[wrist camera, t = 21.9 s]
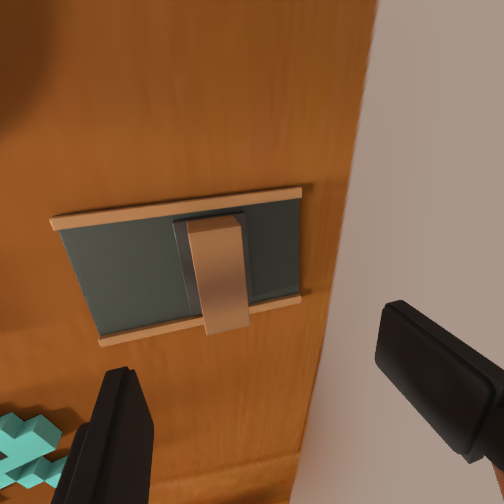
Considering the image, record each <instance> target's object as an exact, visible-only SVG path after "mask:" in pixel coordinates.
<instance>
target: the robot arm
mask: <svg viewBox="0 0 504 504" xmlns="http://www.w3.org/2000/svg"><path fill="white" fill-rule="evenodd" d="M375 362H376V364H377V366H378V367H379V368H380V369H381V371H382V372H383V373H384V374H385V375H386V376H387V377H388V379H389V380H390V381H391V382H392V383H393V384H394V385H395V386H396V387H397V389H398V390H399V391H400V392H401V393H402V394H403V395H404V396H405V398H406V399H407V400H408V401H409V402H410V403H411V404H412V405H413V406H414V407H415V408H416V410H417V411H418V412H419V413H420V414H421V415H422V416H423V418H424V419H425V420H426V421H427V422H428V423H429V424H430V425H431V426H432V427H433V429H434V430H435V431H436V432H437V433H438V434H439V435H440V436H441V437H442V439H443V440H444V441H445V442H446V443H447V444H448V445H449V447H450V448H451V449H452V450H453V451H454V452H456V453H457V454H461V455H462V456H463V457H464V459H465V460H466V461H467V462H468V463H469V464H471V463H473V462H475V461H477V460H480V459H482V458H483V457H484V455H485V456H486V457H487V458H488V459H489V460H490V461H491V462H492V465H493V468H494V471H495V474H496V477H497V481H498V484H499V487H500V490H501V493H502V496H503V499H504V370H503V369H502V368H500V367H499V366H497V365H496V364H494V363H493V362H492V361H490V360H488V359H487V358H486V357H484V356H483V355H481V354H480V353H478V352H477V351H476V350H474V349H473V348H471V347H470V346H468V345H467V344H465V343H464V342H463V341H461V340H460V339H458V338H457V337H455V336H454V335H452V334H451V333H450V332H448V331H447V330H445V329H444V328H442V327H441V326H439V325H438V324H437V323H435V322H434V321H432V320H431V319H429V318H428V317H426V316H425V315H424V314H422V313H420V312H419V311H418V310H416V309H415V308H414V307H412V306H410V305H409V304H408V303H406V302H405V301H403V300H398V301H394V302H390V303H387V304H386V305H385V307H384V308H383V310H382V315H381V321H380V327H379V333H378V340H377V346H376V352H375ZM153 441H154V424H153V420H152V418H151V415H150V412H149V409H148V406H147V403H146V400H145V398H144V395H143V392H142V389H141V386H140V383H139V380H138V378H137V375H136V372H135V370H134V369H133V370H129V369H128V367H127V366H125V367H121V368H117V369H113V370H109V371H107V372H106V373H105V376H104V379H103V382H102V385H101V388H100V392H99V395H98V398H97V401H96V404H95V407H94V410H93V413H92V416H91V420H90V422H88V423H84V424H82V425H81V426H80V427H79V428H78V430H77V432H76V434H75V437H74V439H73V442H72V445H71V448H70V451H69V454H68V456H67V459H66V462H65V465H64V468H63V470H62V473H61V476H60V479H59V482H58V484H57V487H56V490H55V493H54V496H53V498H52V501H51V504H148V500H149V488H150V476H151V464H152V452H153Z"/></svg>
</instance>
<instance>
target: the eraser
mask: <svg viewBox="0 0 504 504" xmlns="http://www.w3.org/2000/svg"><path fill="white" fill-rule="evenodd" d="M172 224H173V229H174V234H175V239H176V244H177V249H178V254H179V259H180V264H181V268H182V273H183V278H184V283H185V288H186V293H187V298H188V303H189V308H190V312H191V315H196V314H201V313H203V319H204V324H205V330H206V335H207V336H208V335H212V334H216V333H221V332H225V331H229V330H234V329H238V328H242V327H246V326H250V317H249V306H248V303H252V302H253V294H252V282H251V270H250V258H249V246H248V234H247V222H246V213H245V212H244V211H236V212H229V213H222V214H215V215H207V216H200V217H193V218H185V219H178V220H173V221H172Z"/></svg>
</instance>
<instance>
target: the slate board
mask: <svg viewBox="0 0 504 504" xmlns="http://www.w3.org/2000/svg"><path fill="white" fill-rule="evenodd" d="M299 198H302V187H299V186H293V187H285V188H277V189H269V190H260V191H252V192H244V193H236V194H228V195H219V196H211V197H203V198H195V199H186V200H178V201H170V202H162V203H154V204H145V205H137V206H129V207H121V208H113V209H104V210H96V211H88V212H80V213H71V214H63V215H55V216H53V217H52V218H50V219H49V220H50V222H51V225H52V227H53V230H58V231H59V234H60V236H61V239H62V241H63V244H64V246H65V249H66V251H67V254H68V257H69V259H70V262H71V264H72V267H73V269H74V272H75V274H76V277H77V279H78V282H79V284H80V287H81V289H82V292H83V294H84V297H85V300H86V302H87V305H88V307H89V310H90V312H91V315H92V317H93V320H94V322H95V325H96V327H97V330H98V332H99V335H100V336H99V339H98V341H99V344H100V346H101V347H105V346H110V345H114V344H119V343H123V342H128V341H132V340H137V339H141V338H146V337H150V336H155V335H159V334H164V333H168V332H172V331H177V330H181V329H186V328H190V327H195V326H199V325H204V319H203V313H201V314H196V315H191V312H190V308H189V303H188V298H187V293H186V288H185V283H184V278H183V273H182V268H181V264H180V259H179V254H178V249H177V244H176V239H175V234H174V229H173V224H172V221H173V220H178V219H185V218H193V217H200V216H207V215H215V214H222V213H229V212H236V211H244V212H245V213H246V222H247V234H248V246H249V258H250V270H251V282H252V294H253V302H252V303H248V306H249V314H253V313H257V312H262V311H266V310H271V309H275V308H280V307H284V306H289V305H293V304H298V303H301V295H300V293H299Z"/></svg>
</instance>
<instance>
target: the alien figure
mask: <svg viewBox="0 0 504 504" xmlns="http://www.w3.org/2000/svg"><path fill="white" fill-rule="evenodd" d="M62 433H63V432H62V431H61V430H59V429H58V428H57V427H56V426H55V425H53V424H52V423H51V422H50V421H49V420H48V419H46V418H45V417H44V416H43V415H42V414H40V415H38V416H36V417H34V418H31V419H29V420H27V421H25V422H24V421H22V420H21V419H20V418H19V417H17V416H16V415H15V414H14V413H12V412H11V413H8V414H6V415H4V416H2V417H0V489H1V488H3V487H6V486H8V485H10V484H12V483H14V482H18V483H20V484H21V485H23V486H24V487H26V488H28V489H29V488H31V487H33V486H35V485H37V484H39V483H41V482H43V481H45V482H47V483H48V484H50V485H51V486H53V487H54V488H56V487H57V484H58V482H59V479H60V476H61V473H62V470H63V468H64V465H65V462H66V459H67V456H65V457H63V458H61V459H59V460H57V461H55V462H52V463H51V462H50V461H48V460H47V459H46V458H44V457H43V455H45V454H47V453H49V452H51V451H53V450H55V449H56V448H57V445H58V443H59V440H60V438H61V435H62Z"/></svg>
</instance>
